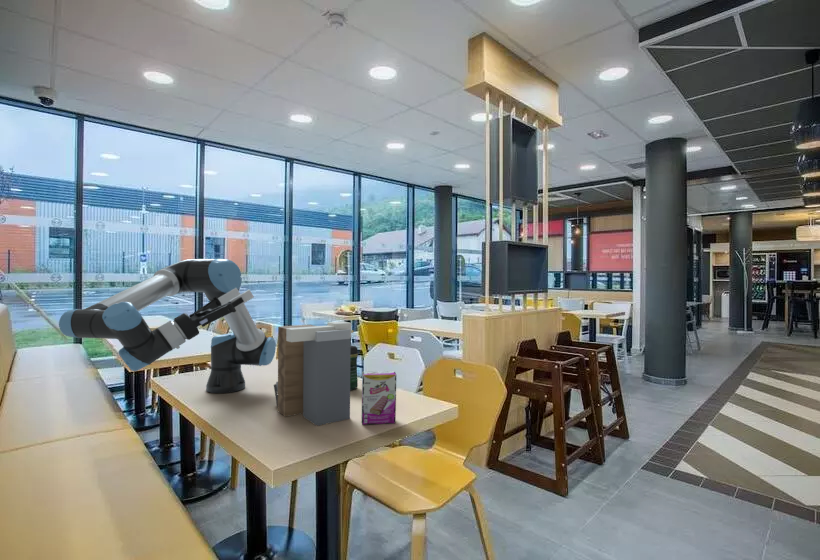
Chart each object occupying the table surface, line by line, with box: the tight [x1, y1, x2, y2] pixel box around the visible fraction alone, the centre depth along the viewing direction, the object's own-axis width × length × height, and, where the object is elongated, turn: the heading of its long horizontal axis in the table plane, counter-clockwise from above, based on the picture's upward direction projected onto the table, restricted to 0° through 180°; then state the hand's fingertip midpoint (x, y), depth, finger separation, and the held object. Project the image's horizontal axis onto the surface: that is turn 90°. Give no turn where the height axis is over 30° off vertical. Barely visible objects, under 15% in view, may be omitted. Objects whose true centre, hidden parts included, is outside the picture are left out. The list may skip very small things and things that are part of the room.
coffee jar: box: [350, 345, 359, 391], centre depth 183 cm, size 10×8×19 cm
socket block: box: [302, 329, 352, 426], centre depth 145 cm, size 11×12×30 cm
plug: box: [286, 320, 355, 342], centre depth 144 cm, size 6×22×5 cm, turn 127°
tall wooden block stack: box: [277, 324, 315, 417], centre depth 152 cm, size 7×12×30 cm, turn 127°
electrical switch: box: [273, 381, 278, 406], centre depth 161 cm, size 9×5×9 cm, turn 141°
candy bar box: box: [360, 370, 397, 426], centre depth 141 cm, size 11×5×16 cm, turn 99°
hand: (244, 292), depth 136 cm, fingers open, 13 cm apart
